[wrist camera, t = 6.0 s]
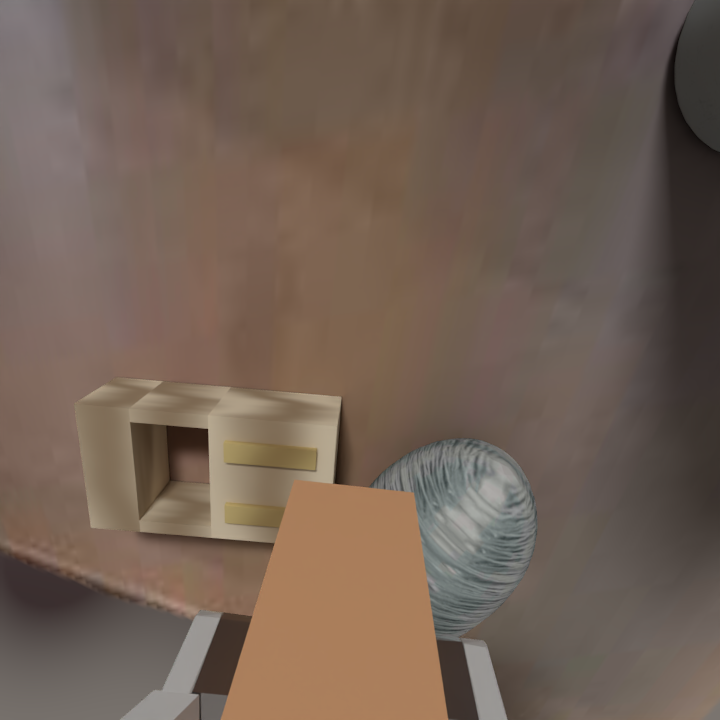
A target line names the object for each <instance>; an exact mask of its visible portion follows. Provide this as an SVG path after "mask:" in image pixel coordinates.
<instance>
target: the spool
mask: <svg viewBox="0 0 720 720" xmlns="http://www.w3.org/2000/svg"><path fill="white" fill-rule="evenodd" d="M369 488H376V489H386V490H395V491H404V492H413V493H414V496H415V503H416V510H417V516H418V523H419V529H420V536H421V543H422V549H423V556H424V563H425V569H426V576H427V582H428V589H429V596H430V602H431V609H432V616H433V622H434V629H435V635H440V636H451V637H459V636H461V635H463V634H465V633H466V632H468V631H469V630H471V629H472V628H473V627H475V626H476V625H478V624H479V623H480V622H482V621H483V620H484V619H486V618H487V617H488V616H490V615H491V614H492V613H493V612H494V611H495V610H497V609H498V608H499V607H500V606H501V605H502V604H503V603H504V601H505V600H506V599H507V598H508V597H509V596H510V594H511V593H512V592H513V591H514V589H515V588H516V587H517V585H518V584H519V582H520V581H521V579H522V578H523V576H524V574H525V572H526V570H527V568H528V566H529V563H530V560H531V557H532V554H533V552H534V547H535V541H536V535H537V511H536V504H535V498H534V496H533V493H532V491H531V487H530V484H529V482H528V480H527V478H526V476H525V474H524V472H523V471H522V469H521V467H520V466H519V465H518V464H517V462H516V461H515V460H514V459H513V458H512V457H511V456H510V455H508V454H507V453H506V452H504V451H503V450H501V449H500V448H498V447H496V446H494V445H492V444H489V443H487V442H484V441H481V440H476V439H465V438H458V439H448V440H443V441H437V442H434V443H431V444H428V445H426V446H423V447H420V448H418V449H416V450H414V451H412V452H410V453H408V454H407V455H405V456H404V457H402V458H401V459H399V460H398V461H396V462H395V463H394V464H392V465H391V466H389V467H388V468H387V469H386V470H385V471H384V472H382V473H381V474H380V475H379V476H378V477H377V479H376V480H375V481H374V482H373V483H372V484H371V485H370V487H369Z"/></svg>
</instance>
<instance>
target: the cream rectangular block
mask: <svg viewBox="0 0 720 720" xmlns="http://www.w3.org/2000/svg"><path fill="white" fill-rule="evenodd" d="M341 400H342V397H338V396H327V395H315V394H304V393H292V392H281V391H269V390H258V389H246V388H235V387H223V386H212V385H201V384H189V383H178V382H166V381H155V380H143V379H132V378H120V377H116V378H114V379H113V380H111V381H110V382H108V383H106V384H105V385H103V386H102V387H100V388H98V389H97V390H95V391H94V392H92V393H90V394H89V395H87V396H86V397H84V398H82V399H81V400H79V401H78V402H76V403H74V408H75V415H76V422H77V430H78V437H79V444H80V451H81V458H82V466H83V473H84V480H85V487H86V495H87V502H88V509H89V516H90V523H91V528H100V529H112V530H124V531H136V532H148V533H160V534H172V535H184V536H196V537H208V538H220V539H232V540H244V541H256V542H268V543H275V541H276V538H277V534H278V531H279V528H280V524H281V521H282V518H283V515H284V511H285V508H286V505H287V502H288V498H289V495H290V492H291V489H292V485H293V482H294V480H303V481H312V482H321V483H330V484H335V475H336V463H337V450H338V437H339V425H340V412H341ZM166 425H170V426H181V427H193V428H204V429H208V437H209V470H210V484H204V483H192V482H180V481H170V476H169V460H168V445H167V429H166Z"/></svg>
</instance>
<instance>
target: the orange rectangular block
mask: <svg viewBox="0 0 720 720" xmlns="http://www.w3.org/2000/svg"><path fill="white" fill-rule="evenodd" d="M221 720H448V715H447V708H446V702H445V695H444V688H443V682H442V675H441V669H440V662H439V655H438V649H437V642H436V635H435V629H434V622H433V616H432V609H431V602H430V596H429V589H428V582H427V576H426V569H425V563H424V556H423V549H422V543H421V536H420V529H419V523H418V516H417V510H416V503H415V496H414V493H413V492H404V491H395V490H386V489H376V488H367V487H358V486H349V485H339V484H330V483H321V482H312V481H303V480H294V482H293V485H292V489H291V492H290V495H289V498H288V502H287V505H286V508H285V511H284V515H283V518H282V521H281V524H280V528H279V531H278V534H277V538H276V541H275V544H274V547H273V551H272V554H271V557H270V560H269V564H268V567H267V570H266V573H265V577H264V580H263V583H262V586H261V590H260V593H259V596H258V600H257V603H256V606H255V609H254V613H253V616H252V619H251V622H250V626H249V629H248V632H247V635H246V639H245V642H244V645H243V648H242V652H241V655H240V658H239V661H238V665H237V668H236V671H235V675H234V678H233V681H232V684H231V688H230V691H229V694H228V697H227V701H226V704H225V707H224V710H223V714H222V717H221Z"/></svg>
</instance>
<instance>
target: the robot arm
mask: <svg viewBox="0 0 720 720" xmlns="http://www.w3.org/2000/svg"><path fill="white" fill-rule="evenodd" d="M251 619H252V616H246V615H238V614H231V613H223V612H215V611H206V610H200V611H199V613H198V614H197V615H196V616H195V618H194V620H193V622H192V625H191V627H190V629H189V631H188V634H187V636H186V638H185V640H184V642H183V645H182V647H181V649H180V651H179V654H178V656H177V658H176V660H175V662H174V664H173V667H172V669H171V671H170V673H169V675H168V678H167V680H166V682H165V685H164V686H163V689H162V690H154V691H152V692H151V693H150V694H149V695H147V696H146V697H145V698H144V699H143V700H142V701H141V702H140V703H138V704H137V705H136V706H135V707H134V708H133V709H131V710H130V711H129V712H128V713H127V714H126V715H124V716H123V717H122V718H121V719H120V720H221V717H222V714H223V710H224V707H225V704H226V701H227V697H228V694H229V691H230V688H231V684H232V681H233V678H234V675H235V671H236V668H237V665H238V661H239V658H240V655H241V652H242V648H243V645H244V642H245V639H246V635H247V632H248V629H249V626H250V622H251ZM436 642H437V649H438V655H439V662H440V669H441V675H442V682H443V688H444V695H445V702H446V708H447V715H448V720H508V719H507V716H506V712H505V709H504V705H503V701H502V698H501V694H500V690H499V687H498V683H497V680H496V676H495V672H494V669H493V665H492V661H491V658H490V654H489V651H488V647H487V645H486V643H485V642H484V640H475V639H466V638H459V637H451V636H440V635H436Z"/></svg>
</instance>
